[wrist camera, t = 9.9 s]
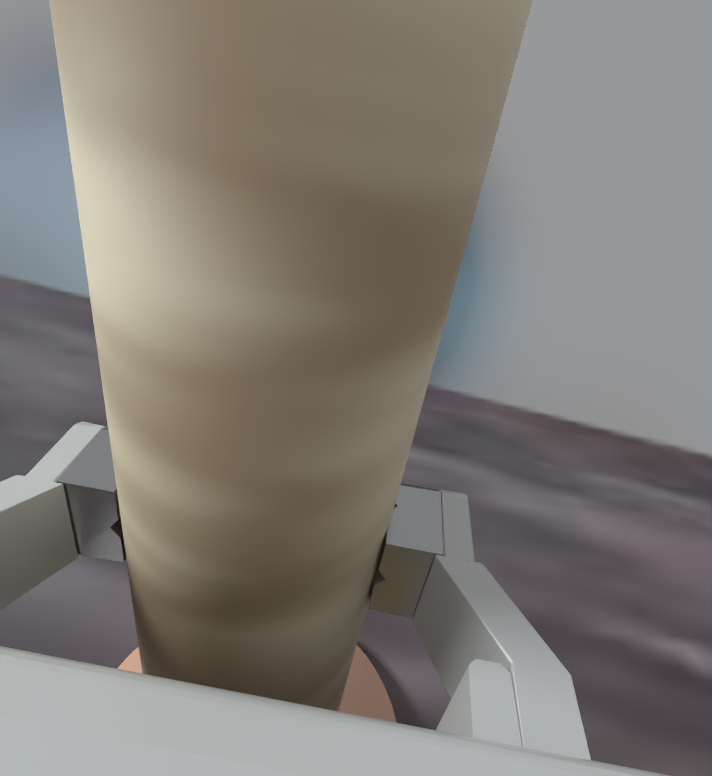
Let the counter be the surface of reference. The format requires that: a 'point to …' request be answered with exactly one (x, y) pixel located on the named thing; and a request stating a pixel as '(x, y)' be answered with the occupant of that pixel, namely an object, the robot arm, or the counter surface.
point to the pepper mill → (271, 298)
